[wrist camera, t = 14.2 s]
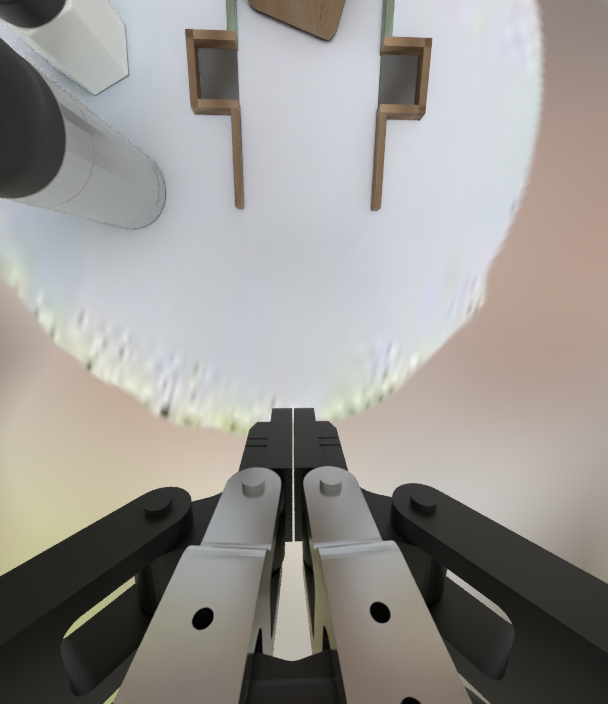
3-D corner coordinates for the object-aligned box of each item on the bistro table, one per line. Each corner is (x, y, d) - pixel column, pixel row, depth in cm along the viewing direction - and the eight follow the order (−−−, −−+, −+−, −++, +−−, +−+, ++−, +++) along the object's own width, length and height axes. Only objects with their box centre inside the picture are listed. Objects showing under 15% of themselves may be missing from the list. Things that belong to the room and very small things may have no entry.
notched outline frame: (201, 207, 38) (198, 205, 37) (178, -119, 31) (172, -139, 29) (411, 211, 39) (416, 208, 38) (439, -104, 32) (447, -124, 30)
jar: (45, -8, 32) (-91, -162, 21) (125, 0, 33) (34, -146, 21) (58, 92, 35) (-59, 4, 23) (132, 99, 35) (53, 15, 24)
